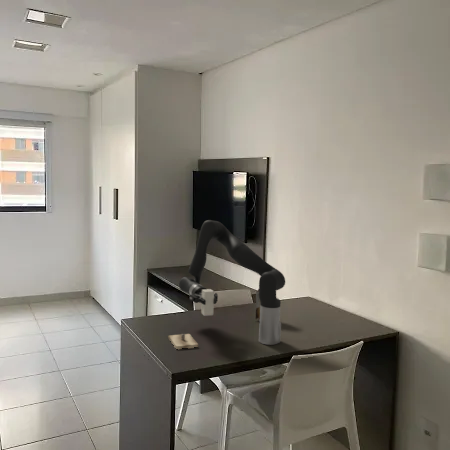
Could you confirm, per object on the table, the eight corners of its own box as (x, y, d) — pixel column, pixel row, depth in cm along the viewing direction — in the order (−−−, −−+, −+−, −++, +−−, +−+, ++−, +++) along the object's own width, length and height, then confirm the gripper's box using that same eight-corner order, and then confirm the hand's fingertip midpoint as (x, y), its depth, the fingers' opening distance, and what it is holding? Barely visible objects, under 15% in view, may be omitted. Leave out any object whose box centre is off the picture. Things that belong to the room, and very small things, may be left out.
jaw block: (210, 312, 219) (210, 289, 218) (213, 315, 215) (214, 291, 214) (201, 313, 217) (201, 289, 216) (204, 315, 213) (204, 291, 212)
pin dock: (189, 336, 222) (189, 328, 222) (198, 347, 209) (198, 338, 209) (168, 338, 219) (168, 330, 218) (176, 349, 206) (176, 340, 205)
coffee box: (273, 319, 254) (275, 290, 252) (271, 323, 248) (273, 292, 246) (257, 317, 257) (258, 288, 255) (254, 320, 250) (256, 291, 249)
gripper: (184, 286, 225) (195, 294, 209) (213, 284, 230) (225, 293, 214) (184, 301, 226) (194, 311, 210) (212, 299, 231) (224, 309, 215)
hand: (210, 302), depth 212 cm, fingers closed on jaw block, 4 cm apart
